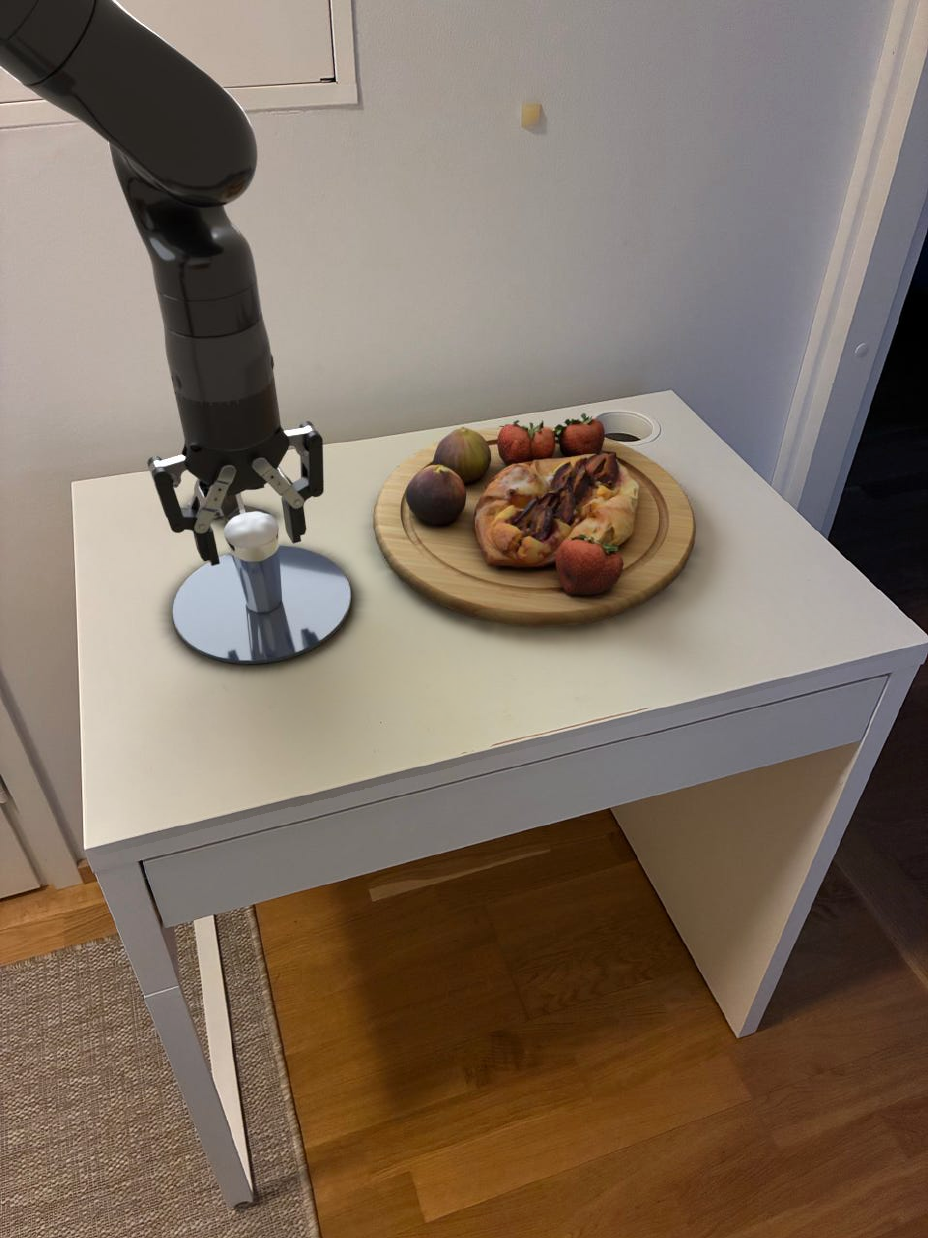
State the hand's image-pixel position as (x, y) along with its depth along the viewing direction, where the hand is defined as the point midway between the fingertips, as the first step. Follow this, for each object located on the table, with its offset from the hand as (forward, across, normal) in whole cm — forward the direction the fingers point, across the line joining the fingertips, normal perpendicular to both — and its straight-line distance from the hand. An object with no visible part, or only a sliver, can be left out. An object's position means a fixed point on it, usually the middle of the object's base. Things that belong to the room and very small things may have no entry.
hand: (253, 548), depth 83 cm
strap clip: (+7, -1, -15) cm, 16 cm away
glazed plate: (+6, 0, 0) cm, 6 cm away
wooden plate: (+7, -28, 0) cm, 29 cm away
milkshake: (+6, 0, 0) cm, 6 cm away
